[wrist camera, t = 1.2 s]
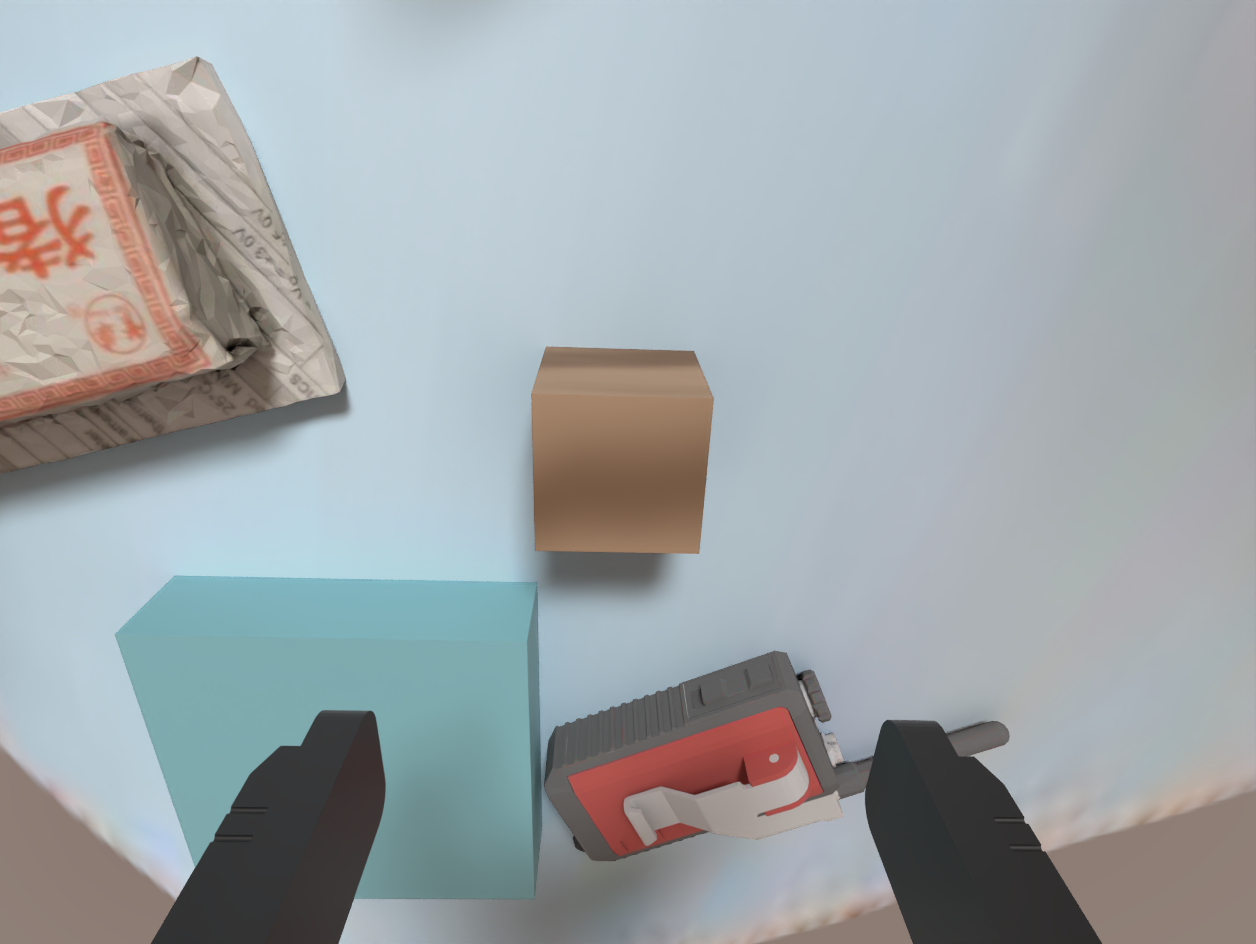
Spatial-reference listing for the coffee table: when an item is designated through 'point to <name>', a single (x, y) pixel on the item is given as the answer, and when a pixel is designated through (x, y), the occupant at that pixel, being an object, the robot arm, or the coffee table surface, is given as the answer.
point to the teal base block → (366, 681)
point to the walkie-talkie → (710, 761)
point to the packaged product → (144, 271)
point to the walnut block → (620, 450)
